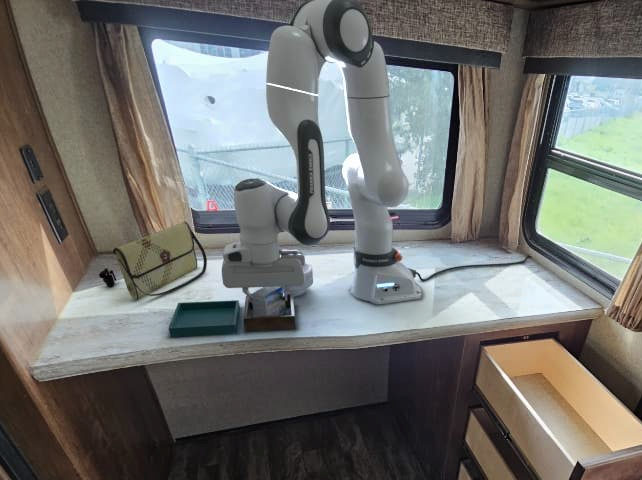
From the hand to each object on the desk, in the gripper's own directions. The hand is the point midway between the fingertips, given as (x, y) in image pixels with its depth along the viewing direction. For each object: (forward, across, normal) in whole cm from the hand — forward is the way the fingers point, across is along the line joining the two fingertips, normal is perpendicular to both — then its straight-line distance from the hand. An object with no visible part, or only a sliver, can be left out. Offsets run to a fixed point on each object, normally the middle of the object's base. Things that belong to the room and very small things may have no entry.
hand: (268, 300), depth 116 cm
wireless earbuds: (+6, +45, -26) cm, 52 cm away
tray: (+5, +16, 0) cm, 17 cm away
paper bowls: (+6, -5, -18) cm, 19 cm away
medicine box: (+6, 0, 0) cm, 6 cm away
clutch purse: (+6, +28, -26) cm, 38 cm away
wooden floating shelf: (+5, 0, 0) cm, 5 cm away
